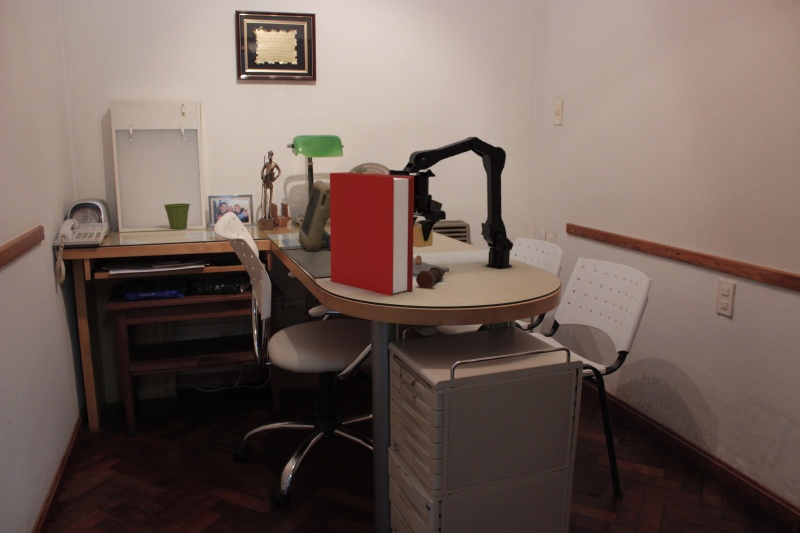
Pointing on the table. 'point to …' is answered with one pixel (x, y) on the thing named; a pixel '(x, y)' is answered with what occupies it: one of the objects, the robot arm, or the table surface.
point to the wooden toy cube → (421, 237)
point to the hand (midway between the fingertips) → (419, 239)
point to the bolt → (429, 277)
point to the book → (372, 231)
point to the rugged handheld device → (316, 218)
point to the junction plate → (423, 266)
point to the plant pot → (177, 215)
